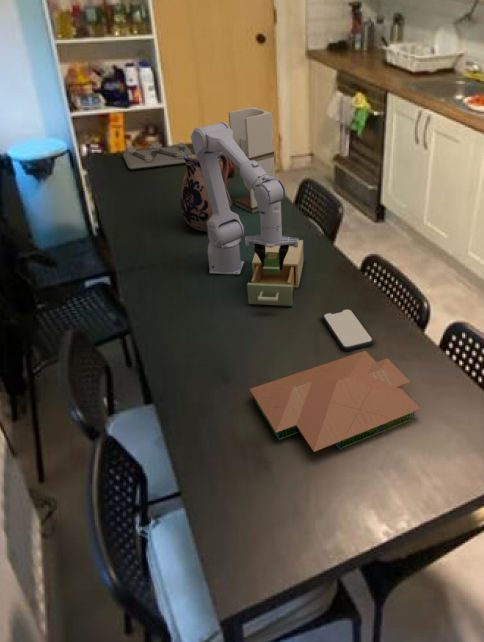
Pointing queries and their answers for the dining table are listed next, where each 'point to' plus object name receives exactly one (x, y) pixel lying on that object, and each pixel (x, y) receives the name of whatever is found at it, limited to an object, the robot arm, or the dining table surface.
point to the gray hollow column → (254, 144)
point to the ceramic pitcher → (199, 193)
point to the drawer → (272, 287)
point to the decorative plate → (156, 156)
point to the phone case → (347, 330)
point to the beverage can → (230, 170)
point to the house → (336, 400)
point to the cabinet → (287, 259)
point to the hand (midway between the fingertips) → (272, 267)
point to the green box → (272, 263)
